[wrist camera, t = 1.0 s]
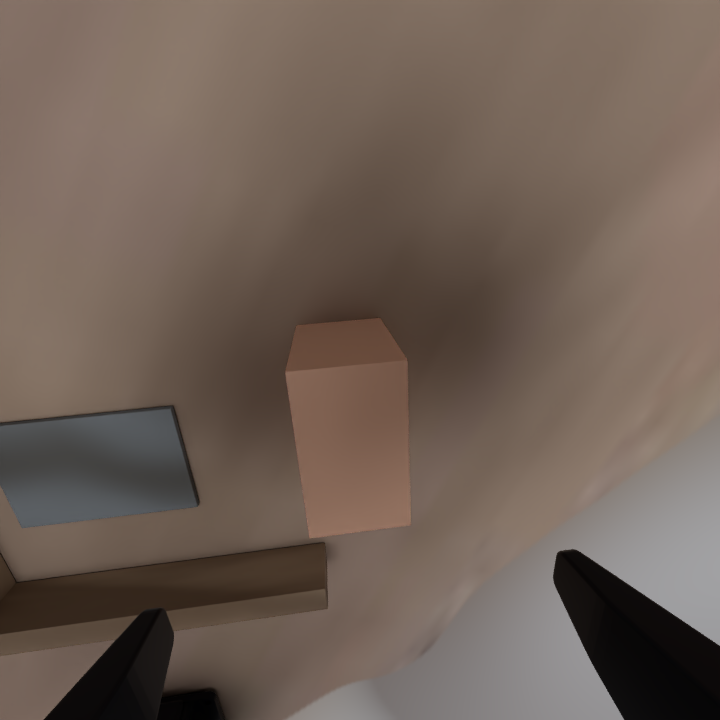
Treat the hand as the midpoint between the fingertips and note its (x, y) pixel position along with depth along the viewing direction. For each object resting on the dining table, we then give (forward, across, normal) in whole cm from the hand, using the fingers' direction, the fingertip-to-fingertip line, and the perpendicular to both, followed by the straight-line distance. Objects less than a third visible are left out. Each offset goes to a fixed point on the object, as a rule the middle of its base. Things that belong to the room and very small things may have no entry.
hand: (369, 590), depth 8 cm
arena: (+11, +11, +3) cm, 16 cm away
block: (+11, 0, 0) cm, 11 cm away
